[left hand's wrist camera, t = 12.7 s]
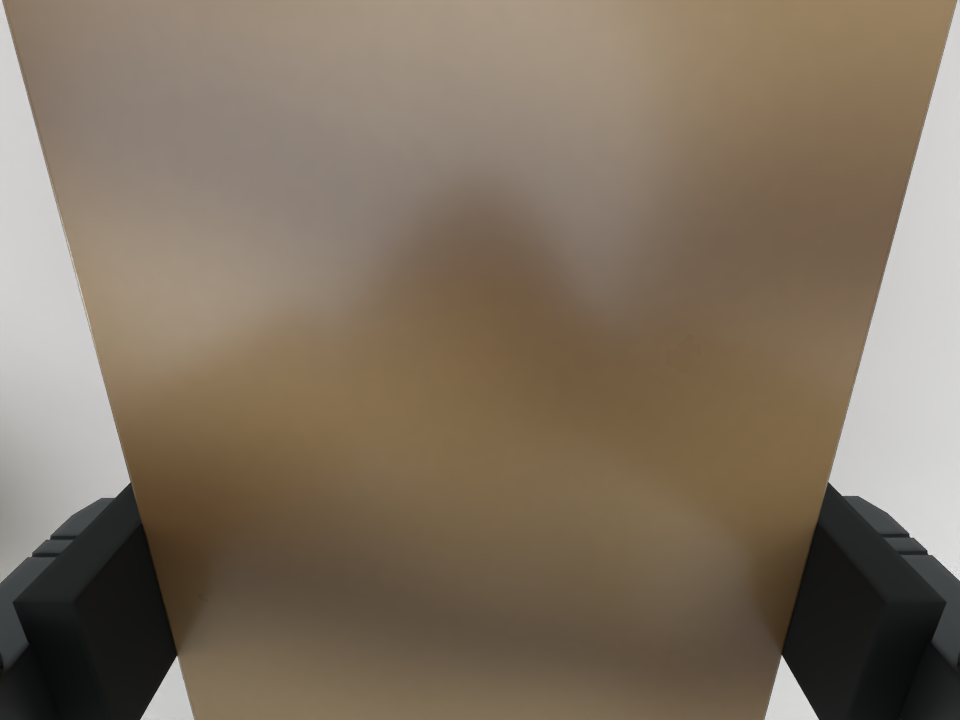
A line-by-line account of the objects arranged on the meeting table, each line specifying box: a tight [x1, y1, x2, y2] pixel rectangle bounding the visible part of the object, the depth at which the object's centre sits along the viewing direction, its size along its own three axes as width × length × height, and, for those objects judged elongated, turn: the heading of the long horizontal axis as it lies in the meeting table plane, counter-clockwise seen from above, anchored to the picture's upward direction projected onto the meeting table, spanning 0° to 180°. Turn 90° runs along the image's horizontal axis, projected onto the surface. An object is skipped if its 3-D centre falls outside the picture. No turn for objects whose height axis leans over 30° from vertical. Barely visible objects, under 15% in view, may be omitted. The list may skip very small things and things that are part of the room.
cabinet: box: [2, 0, 957, 720], centre depth 11 cm, size 19×10×9 cm, turn 0°
